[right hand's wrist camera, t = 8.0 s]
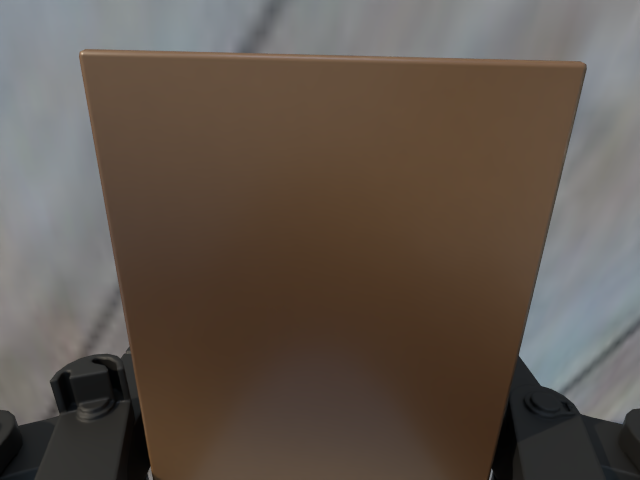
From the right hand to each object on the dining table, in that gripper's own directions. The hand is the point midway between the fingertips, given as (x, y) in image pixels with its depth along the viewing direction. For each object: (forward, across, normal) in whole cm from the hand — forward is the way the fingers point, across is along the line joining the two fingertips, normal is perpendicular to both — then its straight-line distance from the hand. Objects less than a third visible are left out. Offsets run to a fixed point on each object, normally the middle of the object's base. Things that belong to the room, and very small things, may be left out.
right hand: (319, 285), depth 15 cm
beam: (0, -1, -28) cm, 28 cm away
